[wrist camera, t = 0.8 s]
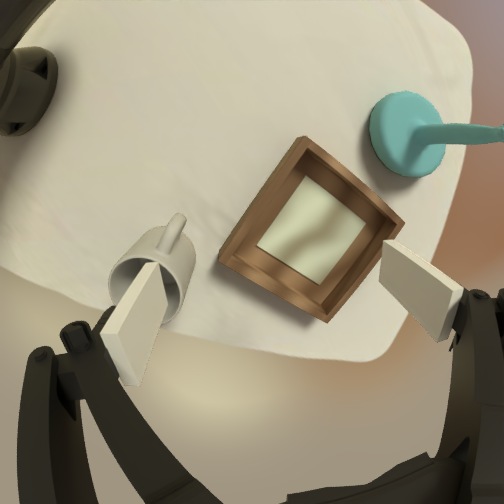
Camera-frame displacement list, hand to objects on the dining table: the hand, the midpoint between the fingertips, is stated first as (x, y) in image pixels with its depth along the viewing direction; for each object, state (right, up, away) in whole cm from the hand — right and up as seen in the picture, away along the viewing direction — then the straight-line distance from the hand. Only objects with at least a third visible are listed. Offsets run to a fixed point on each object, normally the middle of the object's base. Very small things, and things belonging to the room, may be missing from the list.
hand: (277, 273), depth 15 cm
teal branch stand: (+20, +18, +18) cm, 33 cm away
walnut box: (+7, +4, +22) cm, 23 cm away
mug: (-12, +2, +21) cm, 25 cm away
